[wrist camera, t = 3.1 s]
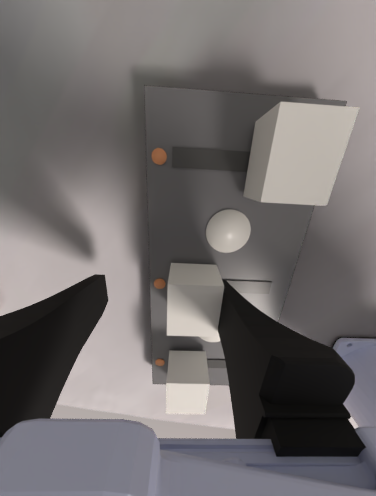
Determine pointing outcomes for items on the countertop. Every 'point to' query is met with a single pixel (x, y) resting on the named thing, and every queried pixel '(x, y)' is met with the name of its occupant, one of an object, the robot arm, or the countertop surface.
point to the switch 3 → (298, 153)
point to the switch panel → (213, 209)
